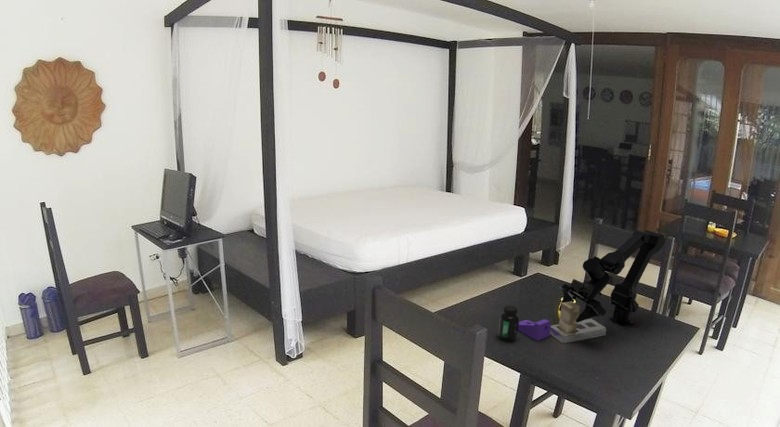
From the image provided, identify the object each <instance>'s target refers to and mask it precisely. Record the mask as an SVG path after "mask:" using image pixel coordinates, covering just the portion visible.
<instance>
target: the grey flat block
mask: <svg viewBox="0 0 780 427" xmlns="http://www.w3.org/2000/svg"><path fill="white" fill-rule="evenodd" d="M558 327H559V323H557V324H553V325H552V324H551V327H550V336H552V337H553V338H554V339H556V340H557V341H558V342H560V343H561V344H567V343H572V342H577V341H583V340H588V339H592V338H599V337H603V336H606V334H607V327H605V326H604V325H603V324H601V323H599V322H597V321H596V320H594V319H593V318H588V319H586V320H583V321H580V322H578V324H577V330H576V332H575V333H569V334H566V333H564V332H563V331H561V330H560V329H559V328H558Z"/></svg>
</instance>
